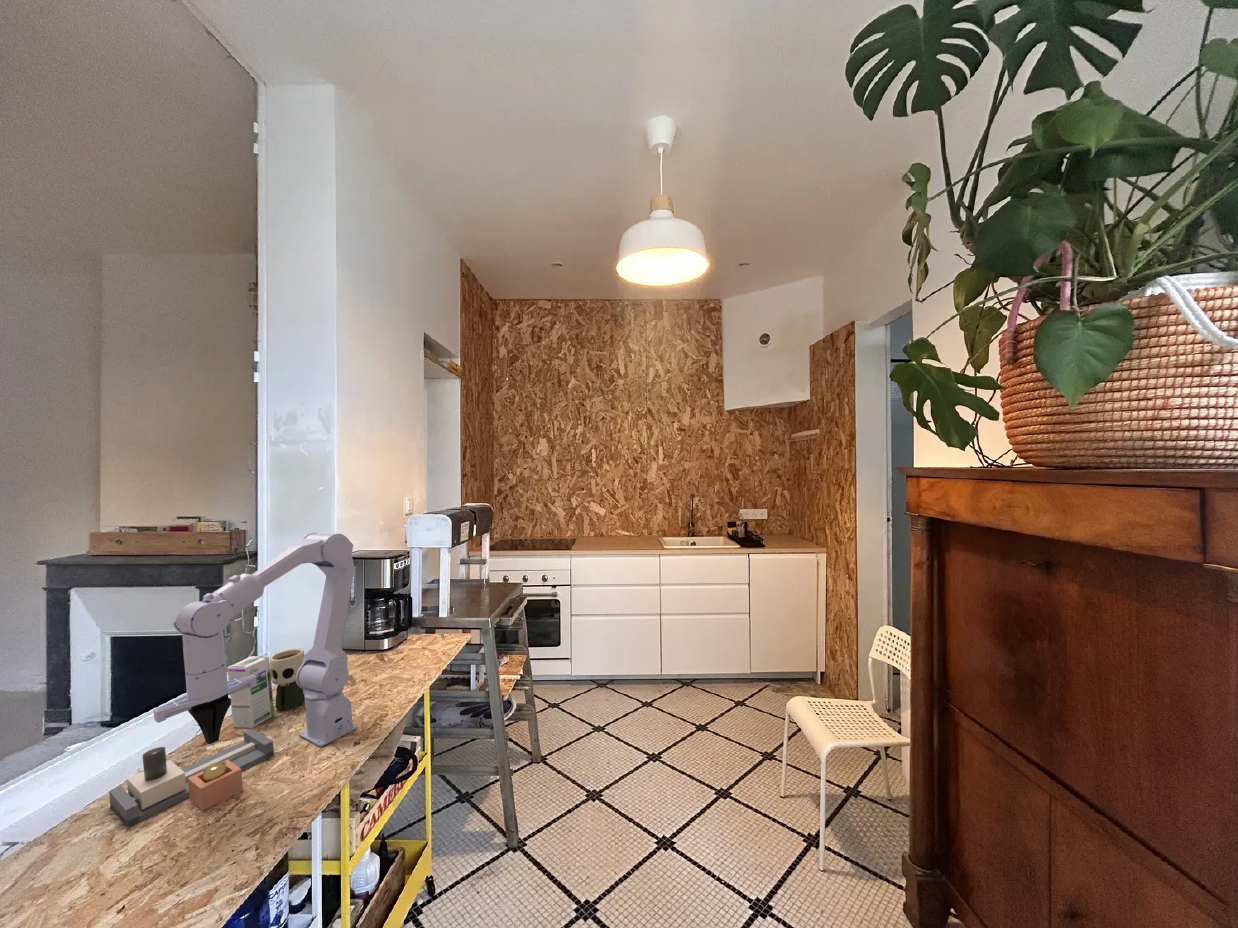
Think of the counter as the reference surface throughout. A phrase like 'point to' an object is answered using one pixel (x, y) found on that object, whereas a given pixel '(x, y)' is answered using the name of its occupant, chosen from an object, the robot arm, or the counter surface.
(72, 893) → the counter surface
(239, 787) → the box
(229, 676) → the syrup box
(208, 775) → the button
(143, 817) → the rail
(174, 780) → the carriage
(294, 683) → the character mug
